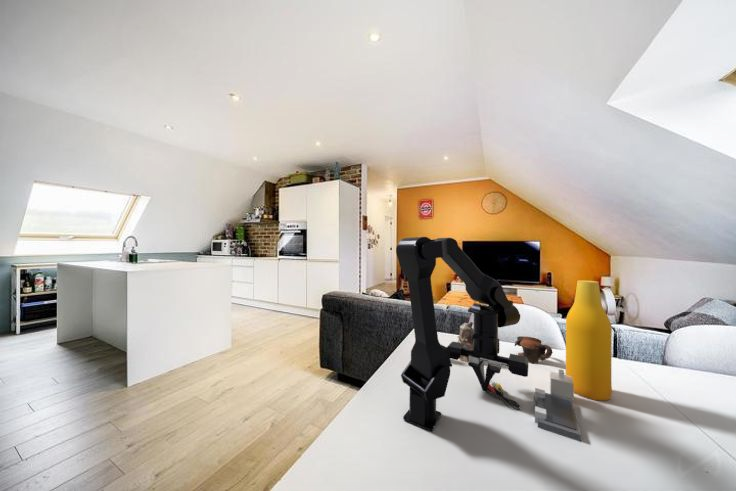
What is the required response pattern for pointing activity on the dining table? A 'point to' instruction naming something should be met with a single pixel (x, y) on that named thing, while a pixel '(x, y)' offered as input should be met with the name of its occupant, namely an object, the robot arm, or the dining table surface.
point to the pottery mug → (533, 349)
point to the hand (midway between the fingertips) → (484, 390)
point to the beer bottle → (589, 343)
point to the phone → (556, 415)
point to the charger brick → (561, 385)
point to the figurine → (466, 338)
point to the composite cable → (501, 395)
